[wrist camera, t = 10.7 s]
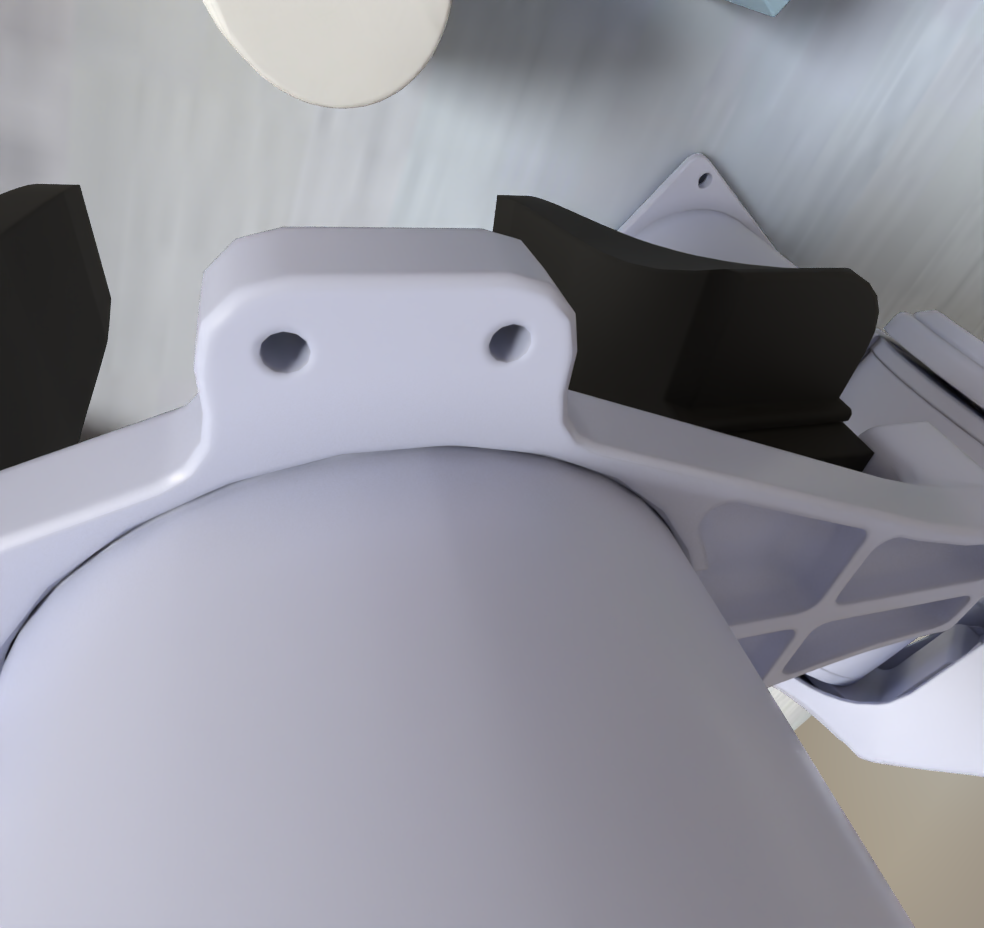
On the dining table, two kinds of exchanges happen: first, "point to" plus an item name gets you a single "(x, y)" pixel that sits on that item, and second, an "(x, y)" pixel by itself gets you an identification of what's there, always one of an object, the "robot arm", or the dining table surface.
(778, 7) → the tub
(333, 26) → the supplement bottle
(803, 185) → the dining table surface
